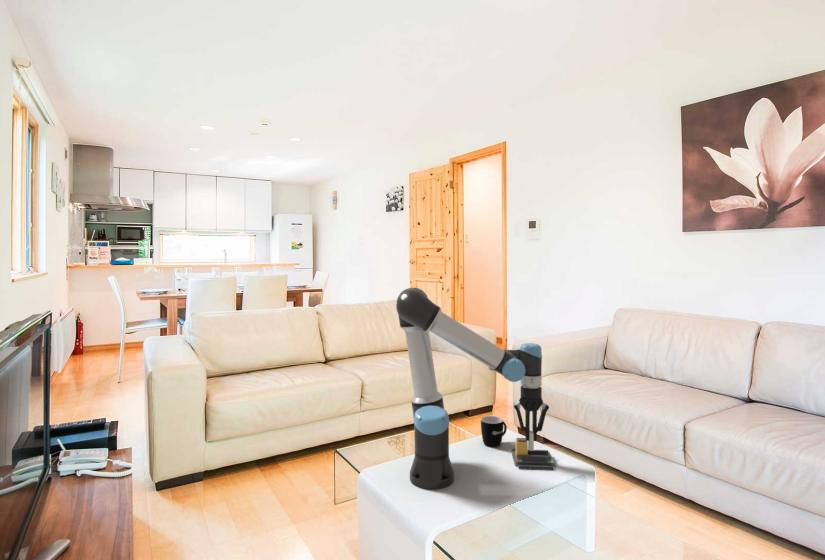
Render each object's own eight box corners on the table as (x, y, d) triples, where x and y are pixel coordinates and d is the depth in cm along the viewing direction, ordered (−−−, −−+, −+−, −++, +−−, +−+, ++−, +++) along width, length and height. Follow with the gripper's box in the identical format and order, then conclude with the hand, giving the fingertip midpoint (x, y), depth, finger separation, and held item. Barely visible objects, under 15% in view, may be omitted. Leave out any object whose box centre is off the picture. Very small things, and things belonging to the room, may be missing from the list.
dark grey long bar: (519, 469, 168) (519, 466, 168) (518, 467, 169) (518, 465, 169) (553, 470, 167) (553, 467, 167) (552, 468, 168) (552, 466, 168)
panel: (515, 466, 170) (515, 458, 170) (512, 454, 180) (512, 447, 180) (555, 467, 169) (555, 459, 169) (549, 455, 179) (549, 448, 179)
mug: (490, 450, 185) (490, 424, 184) (476, 442, 192) (476, 418, 192) (513, 444, 191) (513, 419, 190) (498, 437, 198) (498, 413, 198)
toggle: (516, 458, 173) (516, 440, 173) (515, 454, 177) (515, 437, 176) (527, 458, 173) (527, 440, 173) (526, 455, 176) (526, 437, 176)
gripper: (514, 388, 170) (514, 452, 171) (551, 388, 169) (551, 453, 170) (511, 383, 178) (511, 444, 179) (547, 383, 177) (547, 445, 178)
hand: (531, 449), depth 174 cm, fingers closed
